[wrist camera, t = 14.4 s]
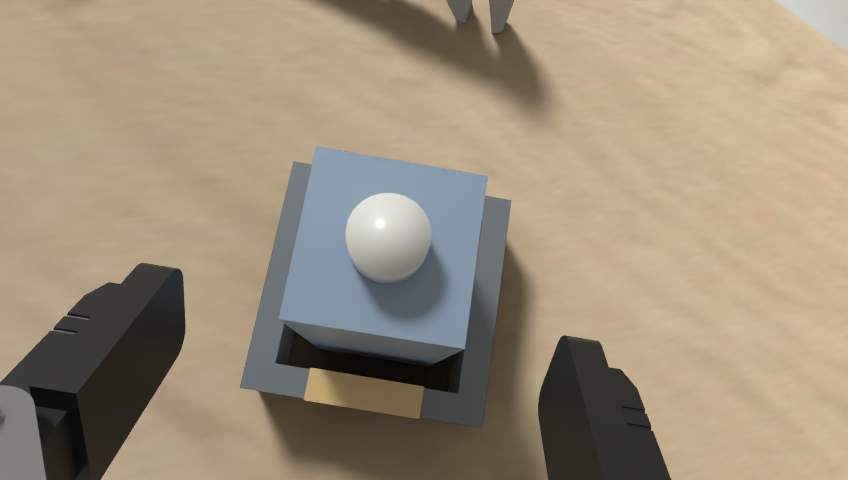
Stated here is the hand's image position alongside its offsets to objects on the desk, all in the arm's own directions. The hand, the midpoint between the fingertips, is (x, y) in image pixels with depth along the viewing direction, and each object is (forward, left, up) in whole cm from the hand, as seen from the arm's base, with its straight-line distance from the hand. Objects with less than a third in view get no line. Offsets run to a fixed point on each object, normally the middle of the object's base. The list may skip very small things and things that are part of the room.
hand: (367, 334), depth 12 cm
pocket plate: (+1, +2, -12) cm, 12 cm away
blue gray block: (+1, +2, -12) cm, 12 cm away
